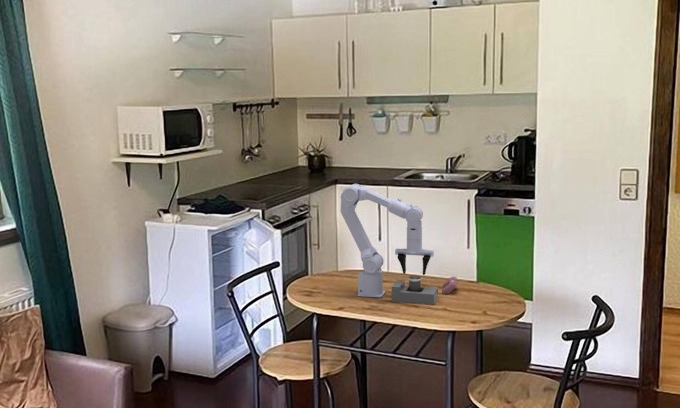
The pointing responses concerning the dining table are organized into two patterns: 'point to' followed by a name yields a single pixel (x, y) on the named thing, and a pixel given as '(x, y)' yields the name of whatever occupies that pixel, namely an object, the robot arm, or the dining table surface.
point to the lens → (415, 283)
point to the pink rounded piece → (449, 285)
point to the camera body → (413, 294)
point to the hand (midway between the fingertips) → (414, 273)
